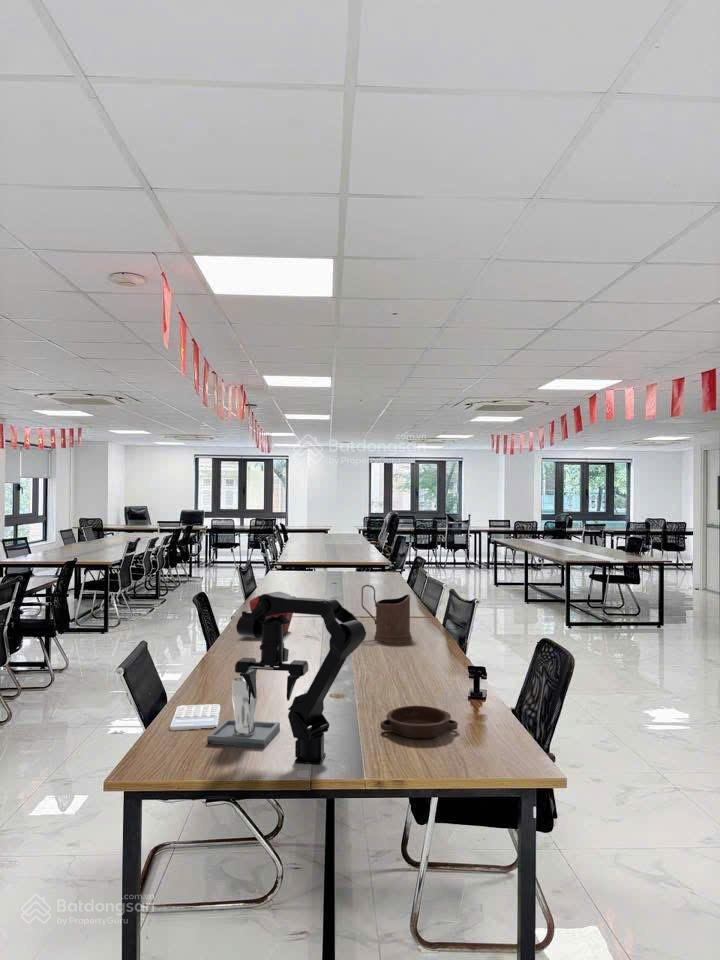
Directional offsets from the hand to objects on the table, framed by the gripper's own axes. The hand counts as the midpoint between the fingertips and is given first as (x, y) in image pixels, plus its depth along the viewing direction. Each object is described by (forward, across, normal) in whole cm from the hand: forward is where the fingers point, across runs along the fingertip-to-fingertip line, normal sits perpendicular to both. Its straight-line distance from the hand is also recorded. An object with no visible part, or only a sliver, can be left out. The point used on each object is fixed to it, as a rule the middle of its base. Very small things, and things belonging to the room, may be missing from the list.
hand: (271, 699), depth 183 cm
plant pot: (+13, +46, -146) cm, 154 cm away
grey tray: (+13, +10, -7) cm, 18 cm away
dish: (+13, -37, -21) cm, 45 cm away
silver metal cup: (+12, +10, -7) cm, 17 cm away
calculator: (+14, +30, -20) cm, 38 cm away
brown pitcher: (+13, -10, -145) cm, 146 cm away
